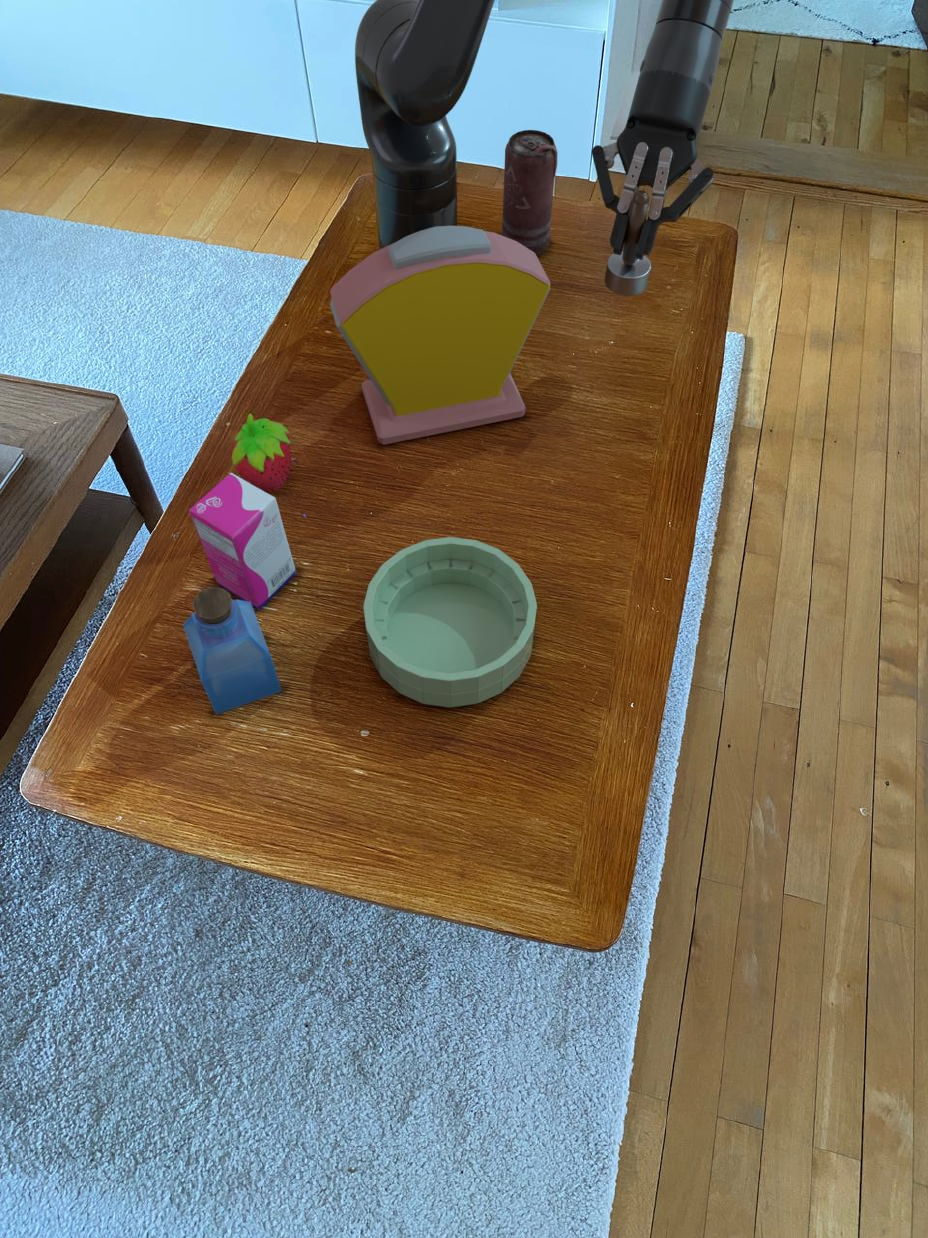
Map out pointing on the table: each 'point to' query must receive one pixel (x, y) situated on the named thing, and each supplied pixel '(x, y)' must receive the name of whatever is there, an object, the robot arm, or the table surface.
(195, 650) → the perfume bottle
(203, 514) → the supplement box
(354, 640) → the table surface
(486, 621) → the bowl
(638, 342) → the table surface
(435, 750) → the table surface
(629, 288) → the peg on round base
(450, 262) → the pink and yellow fan
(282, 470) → the strawberry
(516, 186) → the can
